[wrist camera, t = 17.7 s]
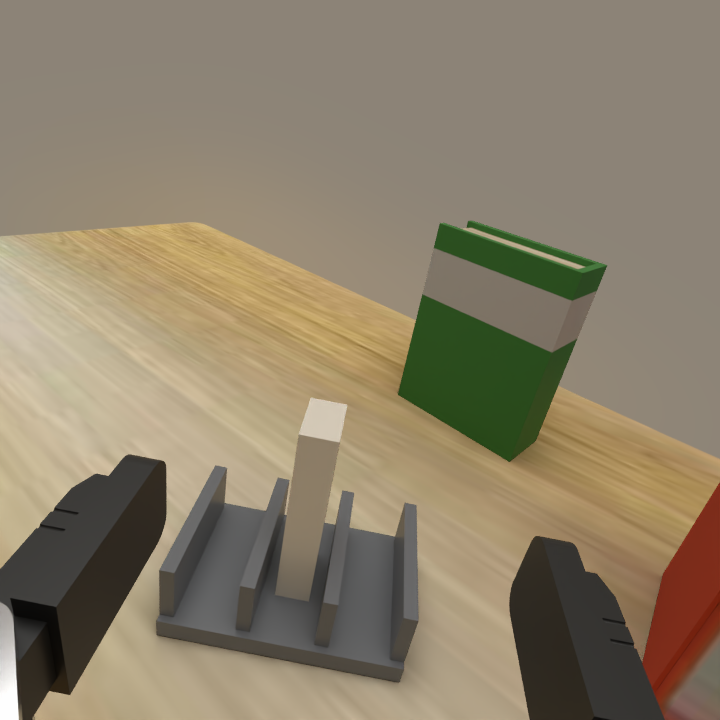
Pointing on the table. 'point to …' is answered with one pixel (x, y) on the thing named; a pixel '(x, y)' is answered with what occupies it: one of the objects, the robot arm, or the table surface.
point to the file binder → (689, 625)
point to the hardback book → (496, 333)
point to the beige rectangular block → (309, 497)
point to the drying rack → (282, 614)
